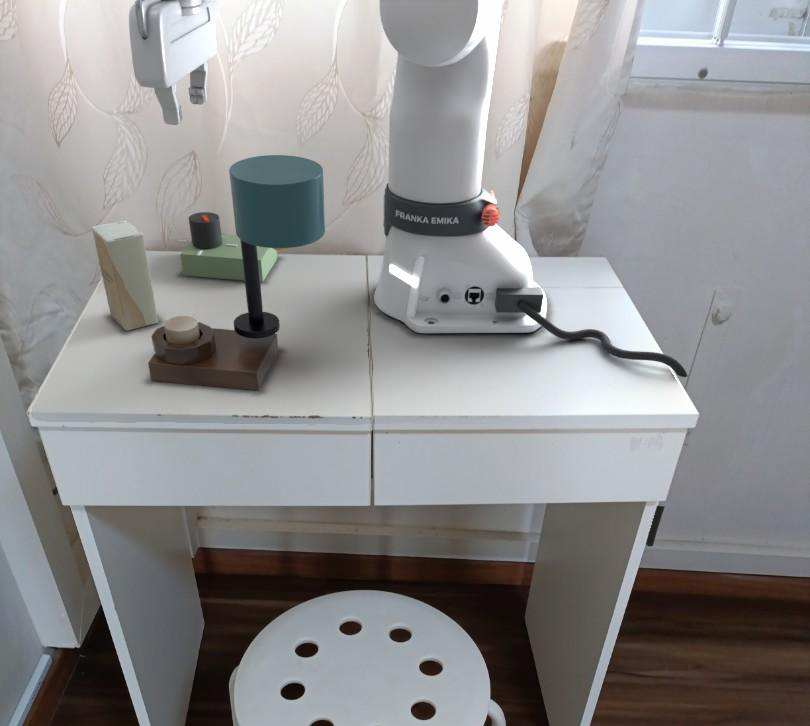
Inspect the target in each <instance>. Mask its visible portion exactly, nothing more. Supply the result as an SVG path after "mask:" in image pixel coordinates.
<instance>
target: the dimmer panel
mask: <svg viewBox="0 0 810 726" xmlns="http://www.w3.org/2000/svg"><path fill="white" fill-rule="evenodd" d="M221 236H222V245H220V246H219V247H216V248H212V249H200V248H196V247H194V246H193V244H192V240H190V241H189V240H186V239H178V240H177V242H178V243H187V245H185V247H184V249H183V250H182V251H181V252H180V253H179V255H180V262H181V269H182V274H183V276H185V277H195V278H206V279H207V278H210V279H220V280H233V281H244V282H245V278H244V269H243V259H242V250H241V240H240V239H239V237H238V236H237V234H233V233H232V234H231V233H221ZM257 254H258V264H259V275H260V283H263V282H265V279H266V278H267V276H268V275H269V273H270V271H271V270H272V268H273V266H274V265H275V263H276V261H277V260H278V251H276V250H274V249H273V248H266V247H259V246H257Z"/></svg>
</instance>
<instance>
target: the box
mask: <svg viewBox="0 0 810 726" xmlns="http://www.w3.org/2000/svg"><path fill="white" fill-rule="evenodd" d="M91 232H92V235H93V240H94V245H95V249H96V254H97V258H98V264H99V267H100V272H101V276H102V281H103V286H104V290H105V296H106V299H107V304H108V309H109V314H110V316H111V317H112V319H114V320H115V322H116V323H117V324H118V325H119V326H120V327H121V328H123V330H125V331H126V332H129V331H132V330H136V329H139V328H144V327H147V326H151V325H155V324H158V323H159V318H158V312H157V311H158V310H157V306H156V299H155V295H154V294H155V293H154V289H153V288H154V287H153V283H152V278H151V277H152V276H151V272H150V266H149V259H148V255H147V249H146V248H147V247H146V242H145V237H144V233H142V232H141V231H140V230H139V229H138V228H137V227H135V226H134V225H132V223H130V222H129V221H128V220H126V219H124V220H119V221H113V222H110V223H104V224H98V225H94V226H91Z"/></svg>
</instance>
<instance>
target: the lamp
mask: <svg viewBox="0 0 810 726" xmlns="http://www.w3.org/2000/svg"><path fill="white" fill-rule="evenodd" d="M228 172H229V174H228V175H229V180H230V191H231V192H230V193H231V199H232V209H233V218H234V228H235V235H237V236H238V237H239V239H240V240H241V250H242V259H243V269H244V278H245V281H244V286H245V297H246V306H247V312H245V313H241V314H239V315H238V316H236V317H235V319H234V320H233V330H235V332H236V333H237V334H238V335H240V336H243V337H246V338H265V337H269V336H272V335H274V334H277V333H278V332H279V330H280V328H281V326H280V319H279V317H278V316H277V315H276V314H274V313H272V312H268V311H264V310H263V309H264V308H263V299H262V288H261V287H262V285H261V282H260V275H259V264H258V254H257V246H259V247H266V248H273V249H274V250H276V251H277V252H281V253H283V252H288V251H290V250H291V249H292V248H298V247H299V248H300V247H303V246H307V245H311V244H313V243H316V242H318V241H320V239H322V238H323V237H324V235H325V233H326V219H325V218H326V217H325V216H326V215H325V195H324V194H325V190H324V189H325V188H324V186H325V185H324V169H323V167H322V165H321V164H320V163H319V162H317V161H315V160H313V159H309V158H307V157H301V156H296V155H287V154H286V155H285V154H265V155H258V156H252V157H251V156H250V157H247V158H244V159H240V160H239V161H236V162H234V163H233V164H232V165H230V167H229V169H228Z"/></svg>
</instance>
